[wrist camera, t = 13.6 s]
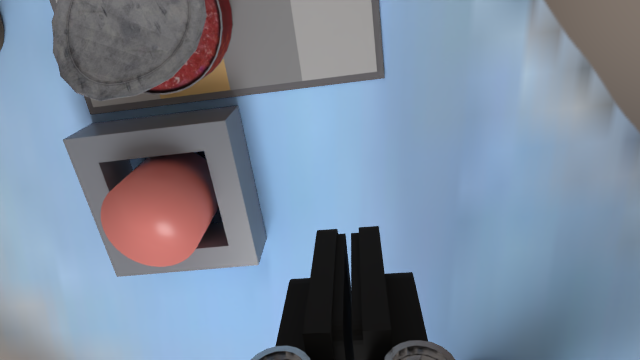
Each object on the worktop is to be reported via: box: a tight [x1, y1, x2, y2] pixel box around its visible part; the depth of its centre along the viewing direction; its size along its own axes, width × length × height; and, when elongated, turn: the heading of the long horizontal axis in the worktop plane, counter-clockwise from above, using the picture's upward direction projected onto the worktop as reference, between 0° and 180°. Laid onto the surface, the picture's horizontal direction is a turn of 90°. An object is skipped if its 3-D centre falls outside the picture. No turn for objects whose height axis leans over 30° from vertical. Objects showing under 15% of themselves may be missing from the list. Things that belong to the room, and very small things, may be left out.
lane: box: [50, 0, 384, 114], centre depth 31 cm, size 23×12×1 cm, turn 98°
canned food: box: [52, 0, 233, 101], centre depth 28 cm, size 11×10×10 cm
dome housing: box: [63, 106, 267, 277], centre depth 35 cm, size 12×12×4 cm
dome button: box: [101, 152, 219, 267], centre depth 33 cm, size 7×7×6 cm
